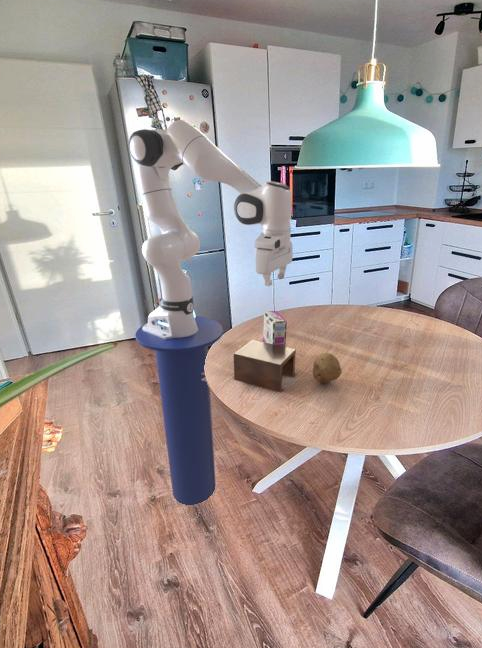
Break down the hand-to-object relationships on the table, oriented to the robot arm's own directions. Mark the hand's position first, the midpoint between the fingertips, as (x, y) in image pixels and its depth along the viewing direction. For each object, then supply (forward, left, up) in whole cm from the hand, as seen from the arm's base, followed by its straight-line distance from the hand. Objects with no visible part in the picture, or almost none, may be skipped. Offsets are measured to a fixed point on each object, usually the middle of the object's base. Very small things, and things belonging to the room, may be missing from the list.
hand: (274, 282), depth 126 cm
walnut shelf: (+3, -12, -29) cm, 31 cm away
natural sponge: (+22, -6, -29) cm, 37 cm away
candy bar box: (0, +1, -29) cm, 29 cm away
